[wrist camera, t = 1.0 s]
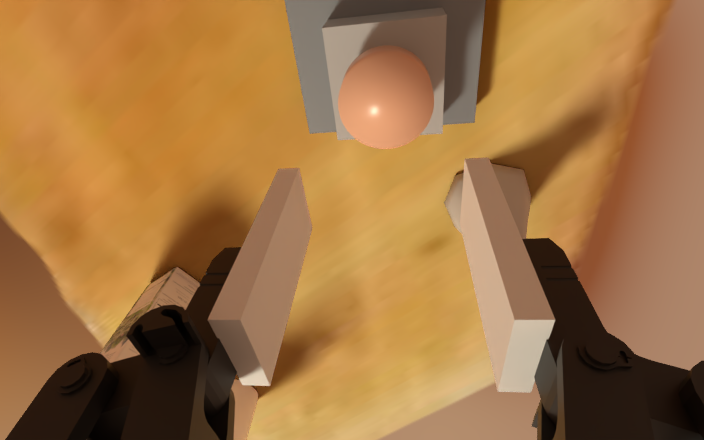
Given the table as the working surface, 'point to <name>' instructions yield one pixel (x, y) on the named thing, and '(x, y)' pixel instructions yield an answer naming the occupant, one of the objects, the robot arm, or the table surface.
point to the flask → (512, 189)
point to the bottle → (243, 408)
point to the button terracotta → (386, 97)
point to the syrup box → (161, 292)
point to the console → (387, 29)
